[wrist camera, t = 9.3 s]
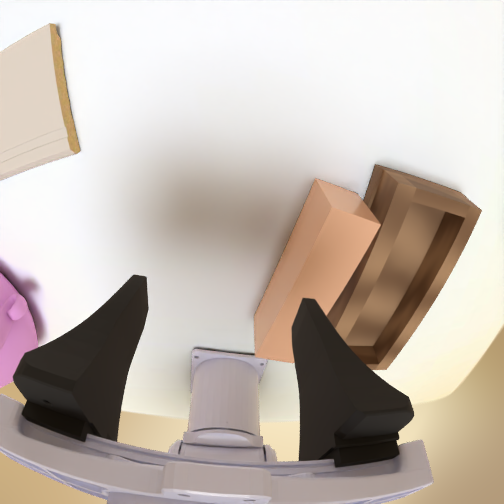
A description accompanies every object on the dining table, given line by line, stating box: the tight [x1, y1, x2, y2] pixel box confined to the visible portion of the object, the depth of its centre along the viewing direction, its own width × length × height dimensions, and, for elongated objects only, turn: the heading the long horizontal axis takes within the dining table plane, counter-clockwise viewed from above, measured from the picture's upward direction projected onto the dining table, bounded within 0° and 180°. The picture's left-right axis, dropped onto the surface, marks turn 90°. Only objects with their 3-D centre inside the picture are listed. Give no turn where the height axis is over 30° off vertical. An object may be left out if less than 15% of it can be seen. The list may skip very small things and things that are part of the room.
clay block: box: [254, 178, 381, 363], centre depth 23 cm, size 14×4×5 cm, turn 162°
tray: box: [327, 164, 482, 370], centre depth 24 cm, size 19×9×4 cm, turn 170°
